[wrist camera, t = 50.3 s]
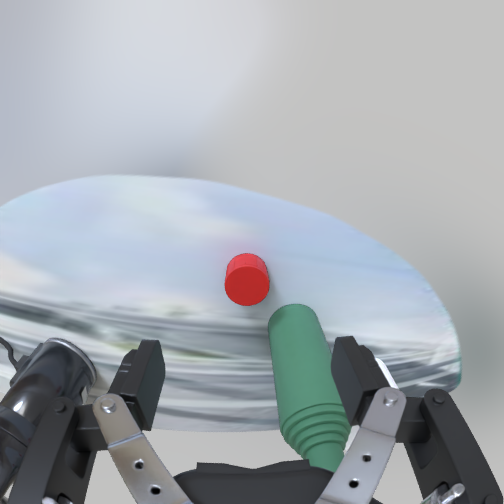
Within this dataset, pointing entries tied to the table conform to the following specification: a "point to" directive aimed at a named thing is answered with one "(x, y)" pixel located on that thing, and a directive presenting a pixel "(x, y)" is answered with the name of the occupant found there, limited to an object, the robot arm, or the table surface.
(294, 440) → the bottle
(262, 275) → the cap
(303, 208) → the table surface
